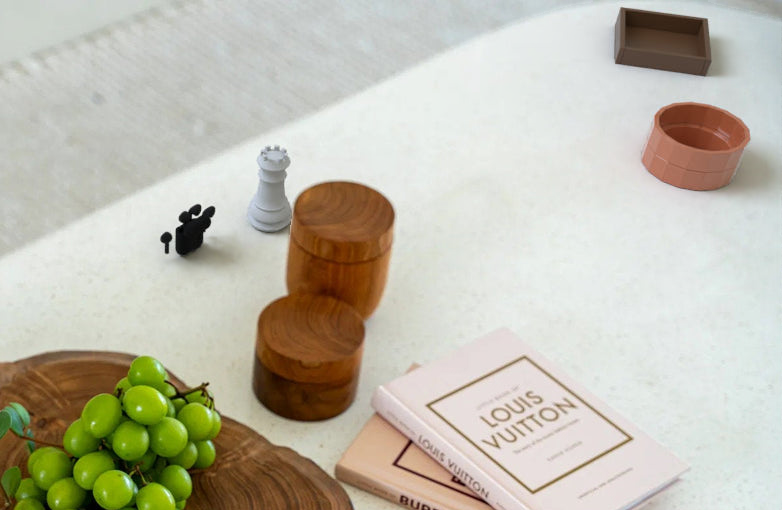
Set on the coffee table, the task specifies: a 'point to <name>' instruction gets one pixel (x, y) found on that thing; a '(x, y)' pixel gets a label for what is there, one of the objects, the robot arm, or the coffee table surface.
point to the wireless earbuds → (189, 230)
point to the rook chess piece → (270, 192)
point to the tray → (662, 41)
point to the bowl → (695, 146)
